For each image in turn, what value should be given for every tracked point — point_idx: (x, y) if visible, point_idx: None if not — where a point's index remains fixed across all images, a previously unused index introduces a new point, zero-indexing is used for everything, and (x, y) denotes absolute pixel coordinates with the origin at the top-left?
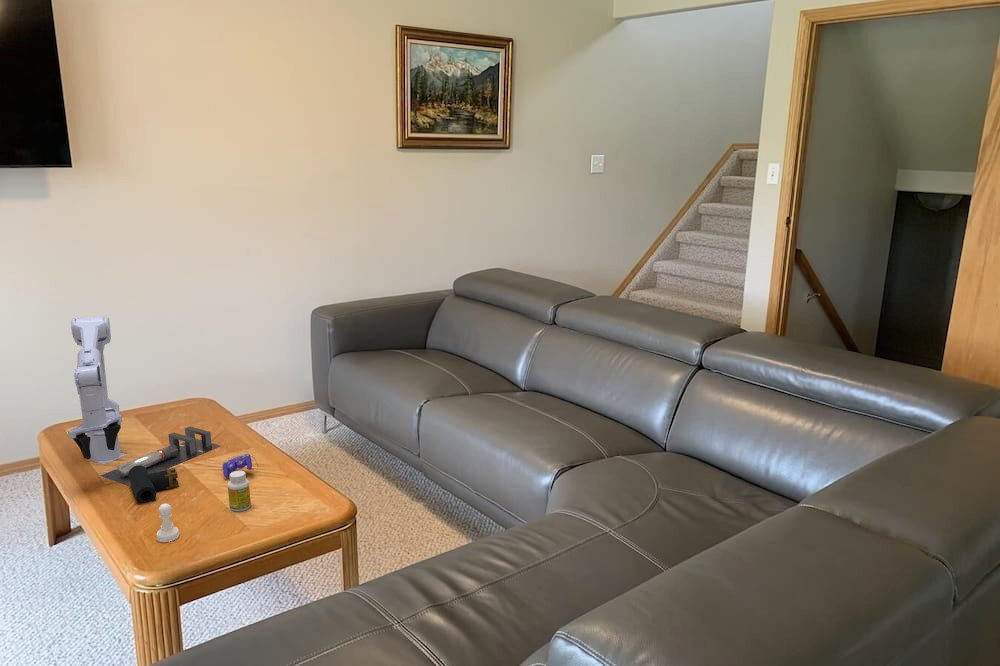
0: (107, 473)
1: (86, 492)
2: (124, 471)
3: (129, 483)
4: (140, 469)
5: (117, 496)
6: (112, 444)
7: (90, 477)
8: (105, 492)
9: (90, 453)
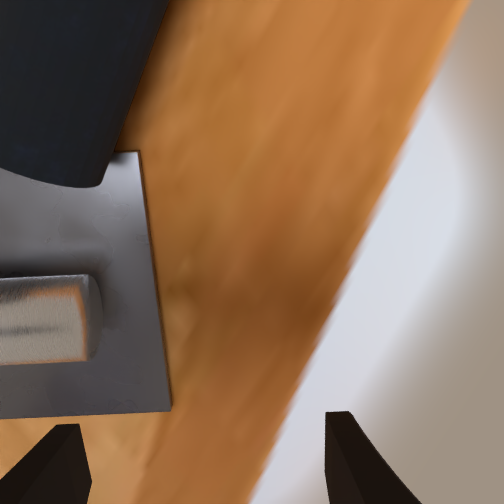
0: (127, 403)
1: (322, 295)
2: (76, 284)
3: (111, 176)
4: (6, 66)
5: (255, 81)
6: (44, 471)
7: (201, 437)
8: (263, 205)
9: (339, 448)
